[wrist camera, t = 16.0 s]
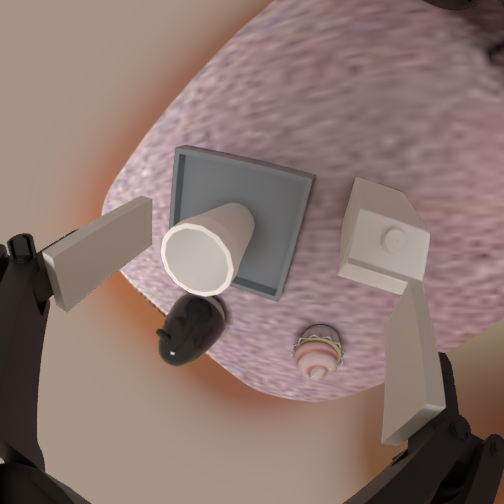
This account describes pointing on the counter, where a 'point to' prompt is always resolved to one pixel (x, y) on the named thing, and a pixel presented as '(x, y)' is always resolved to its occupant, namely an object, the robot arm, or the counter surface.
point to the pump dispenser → (190, 329)
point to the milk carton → (382, 238)
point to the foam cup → (208, 248)
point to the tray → (252, 197)
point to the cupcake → (318, 352)
